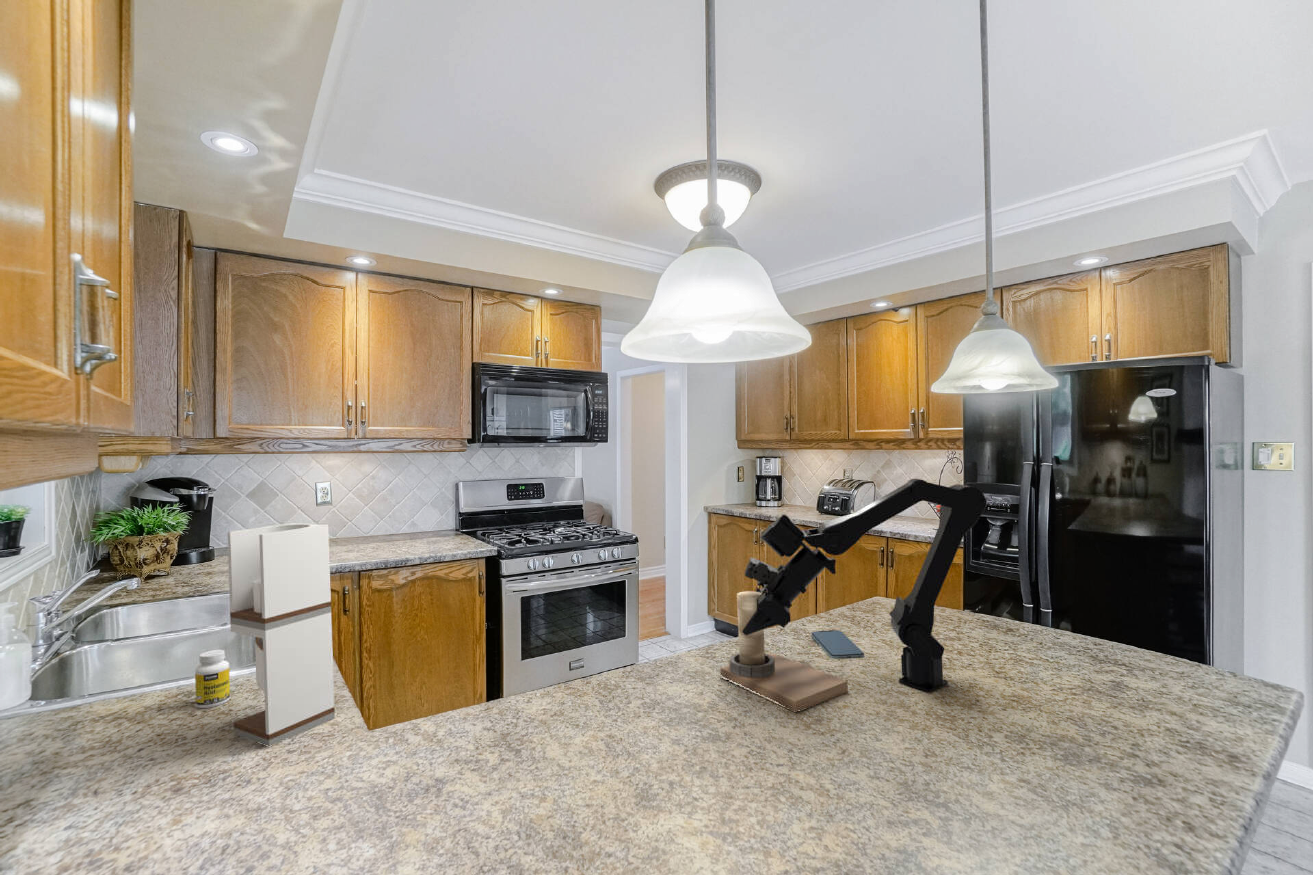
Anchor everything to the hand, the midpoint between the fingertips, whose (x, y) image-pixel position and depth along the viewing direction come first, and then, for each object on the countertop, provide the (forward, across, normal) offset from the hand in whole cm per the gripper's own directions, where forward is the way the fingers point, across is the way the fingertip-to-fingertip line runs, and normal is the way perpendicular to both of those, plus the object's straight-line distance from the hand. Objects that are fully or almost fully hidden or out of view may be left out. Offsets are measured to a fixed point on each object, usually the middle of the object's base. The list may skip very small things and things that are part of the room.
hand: (744, 629), depth 121 cm
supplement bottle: (+80, +18, -66) cm, 105 cm away
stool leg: (+4, 0, +6) cm, 7 cm away
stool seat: (+2, +2, +12) cm, 12 cm away
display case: (+64, +26, -50) cm, 85 cm away
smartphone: (-7, -20, +22) cm, 31 cm away
